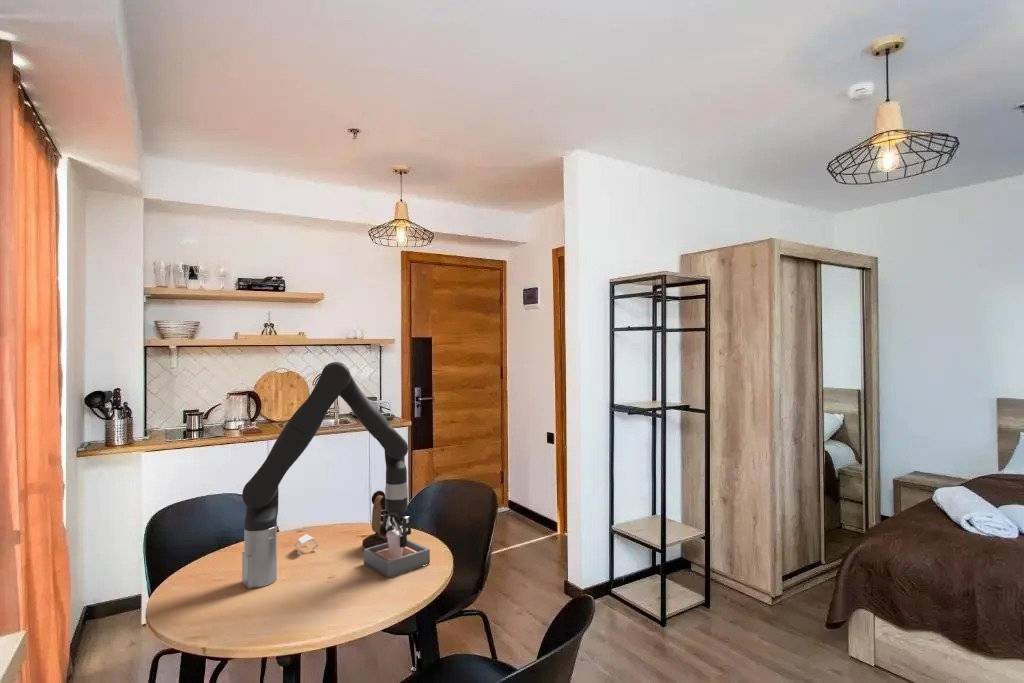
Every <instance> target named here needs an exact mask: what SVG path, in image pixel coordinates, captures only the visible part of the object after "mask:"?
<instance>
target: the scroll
mask: <svg viewBox="0 0 1024 683" xmlns="http://www.w3.org/2000/svg"><path fill="white" fill-rule="evenodd" d="M371 502H372V503H371V504H372V512H371V513H372V514H371V529H372V532H374V533H373V534H370V535H368V536H367V537H365V538H364V539H363V540H362V544H361V545H362V547H363V548H364V549H366V548H370V547H373V546H377V545H381V544H384V543H388V541H387V536H386V535H387V534H386V533H387V530H386V528H385V527H383V510H385V491H383V490H377V491H375V492H373V494H372V496H371ZM387 520H388V519H387ZM387 520H386V522H387ZM392 529H393V530H395V526H394V527H393V528H392Z"/></svg>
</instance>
